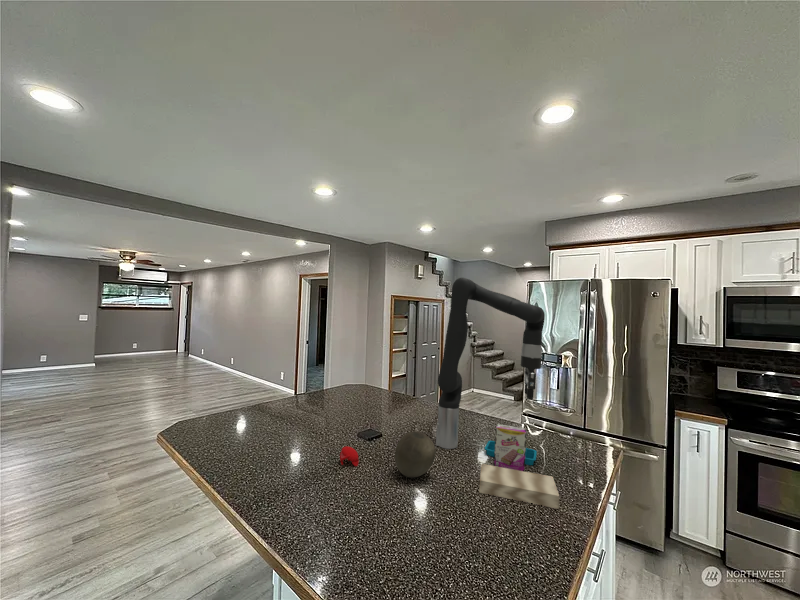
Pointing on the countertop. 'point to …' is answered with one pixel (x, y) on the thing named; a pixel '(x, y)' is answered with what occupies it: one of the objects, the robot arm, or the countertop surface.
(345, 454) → the cap
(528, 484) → the birch stand
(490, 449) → the ice cube tray
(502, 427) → the candy bar box
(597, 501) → the countertop surface
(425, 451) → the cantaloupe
